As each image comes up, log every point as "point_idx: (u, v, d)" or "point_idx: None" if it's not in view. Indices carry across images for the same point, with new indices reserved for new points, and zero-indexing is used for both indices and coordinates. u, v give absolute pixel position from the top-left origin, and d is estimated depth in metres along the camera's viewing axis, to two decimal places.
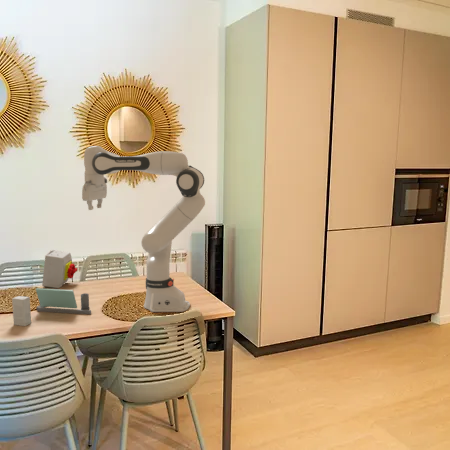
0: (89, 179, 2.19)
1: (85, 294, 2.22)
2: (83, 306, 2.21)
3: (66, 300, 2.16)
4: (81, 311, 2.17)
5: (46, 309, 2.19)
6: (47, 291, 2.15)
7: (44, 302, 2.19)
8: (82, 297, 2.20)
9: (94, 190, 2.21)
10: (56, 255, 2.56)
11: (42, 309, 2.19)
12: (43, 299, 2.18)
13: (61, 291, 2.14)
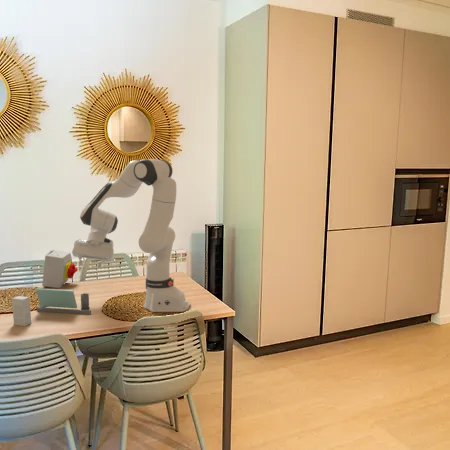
0: None
1: (85, 294, 2.22)
2: (83, 306, 2.21)
3: (66, 300, 2.16)
4: (81, 311, 2.17)
5: (46, 309, 2.19)
6: (47, 291, 2.15)
7: (44, 302, 2.19)
8: (82, 297, 2.20)
9: (87, 247, 2.34)
10: (56, 255, 2.56)
11: (42, 309, 2.19)
12: (43, 299, 2.18)
13: (61, 291, 2.14)
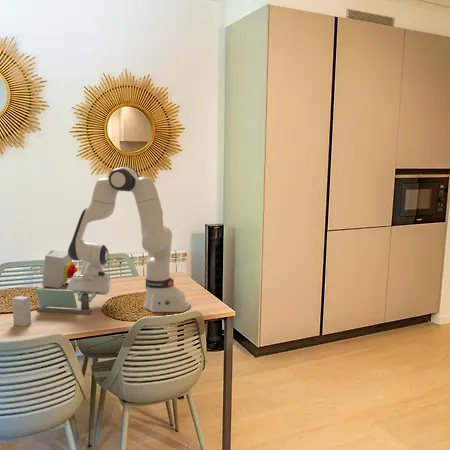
0: None
1: (85, 294, 2.22)
2: (83, 306, 2.21)
3: (66, 300, 2.16)
4: (81, 311, 2.17)
5: (46, 309, 2.19)
6: (47, 291, 2.15)
7: (44, 302, 2.19)
8: (82, 297, 2.20)
9: (81, 282, 2.26)
10: (56, 255, 2.56)
11: (42, 309, 2.19)
12: (43, 299, 2.18)
13: (61, 291, 2.14)
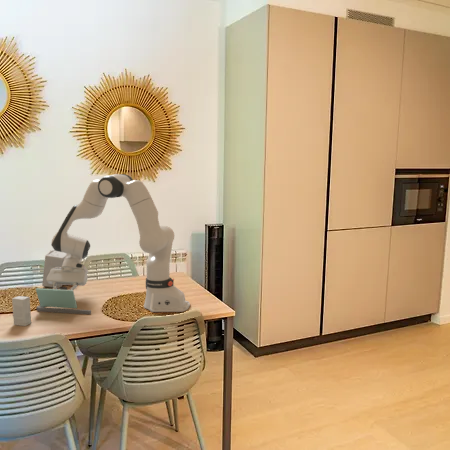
0: None
1: (63, 288, 2.31)
2: None
3: (66, 300, 2.16)
4: (81, 311, 2.17)
5: (46, 309, 2.19)
6: (47, 291, 2.15)
7: (44, 302, 2.19)
8: None
9: (60, 273, 2.35)
10: (56, 255, 2.56)
11: (42, 309, 2.19)
12: (43, 299, 2.18)
13: (61, 291, 2.14)
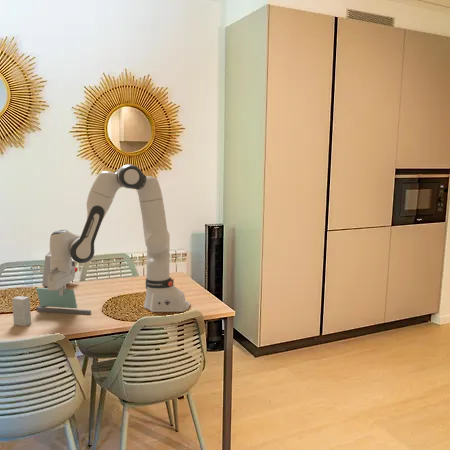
0: (55, 266, 2.07)
1: None
2: None
3: (66, 300, 2.16)
4: (81, 311, 2.17)
5: (46, 309, 2.19)
6: (47, 290, 2.16)
7: (44, 302, 2.19)
8: None
9: (60, 277, 2.08)
10: None
11: (42, 309, 2.19)
12: (44, 298, 2.18)
13: None
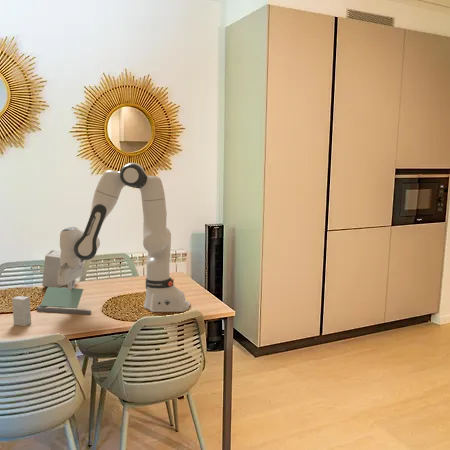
0: (65, 262, 2.17)
1: None
2: None
3: (71, 298, 2.21)
4: (81, 311, 2.17)
5: (46, 309, 2.19)
6: (57, 289, 2.25)
7: (47, 301, 2.21)
8: None
9: (70, 272, 2.18)
10: (56, 255, 2.56)
11: (42, 309, 2.19)
12: (49, 297, 2.23)
13: None
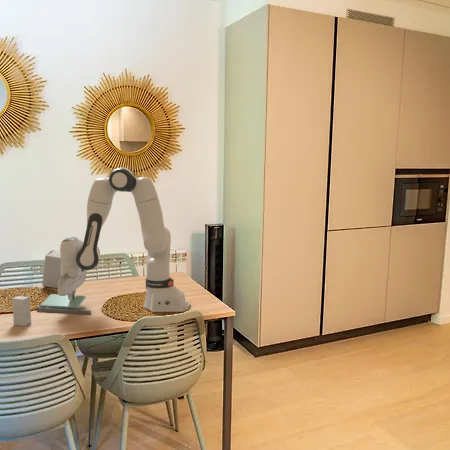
0: (65, 272, 2.17)
1: None
2: None
3: (72, 301, 2.23)
4: (81, 311, 2.17)
5: (46, 309, 2.19)
6: None
7: (48, 302, 2.22)
8: None
9: (70, 282, 2.19)
10: (56, 255, 2.56)
11: (42, 309, 2.19)
12: (50, 300, 2.24)
13: None
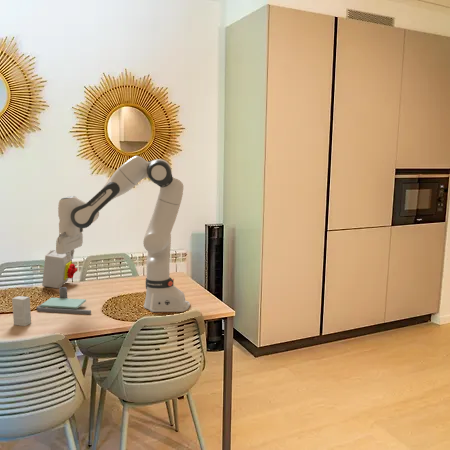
0: (63, 231, 2.14)
1: (63, 288, 2.31)
2: None
3: (72, 303, 2.23)
4: (81, 311, 2.17)
5: (46, 309, 2.19)
6: (61, 298, 2.29)
7: (48, 303, 2.22)
8: (60, 290, 2.30)
9: (69, 242, 2.16)
10: (56, 255, 2.56)
11: (42, 309, 2.19)
12: (50, 301, 2.24)
13: (74, 299, 2.28)
